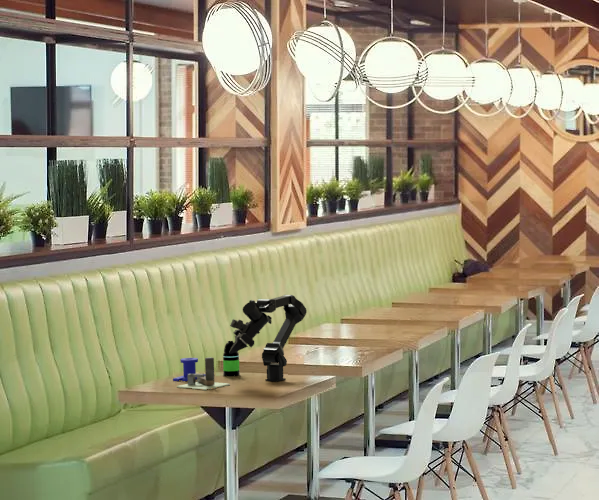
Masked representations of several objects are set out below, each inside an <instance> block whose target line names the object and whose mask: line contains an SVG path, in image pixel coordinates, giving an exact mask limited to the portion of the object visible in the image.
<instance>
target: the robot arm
mask: <svg viewBox="0 0 599 500" xmlns="http://www.w3.org/2000/svg"><path fill="white" fill-rule="evenodd" d="M281 307H282V309H283V311H284V315H285V319H284V322H283V323H282V325H281V327H280V328H279V331H278V333H277V334H276V336H275V338H274V340H273V342H267V343H266V344H265V346H264V348H263V349H262V350H263V351H262V353H261V359H262V364H263V367H266V378H265V379H264V380H265V381H268V382H281V381H285V380H287V379H286V378H285V377H284V367H286V366H287V363H288V359H287V358H286V356H285V351H284V347H285V346H286V344H287V342H288V340H289V338H290V336H291V335H292V332H293V330H294V328H295V327H296V325H297V324H298V323H300V322H302V321H303V319H304V318H305V317H306V315H307V308H306V306H305V304H304V303H303V302H302V301H300V300H299V299H297V297H296V296H295V295H293V294H283V295H280V296H278V297H273V298H258V299H256V301H255V300H253V299H251V300H249V302H247V303H246V304H244V306H243V307H242V313H243V314H244V315H245V316H246V317H247V318H248V319H249V321H247V322H245V323H244V320H241V319H238V320H237V319H235V318H233V319H232V320H231V323H230V328H233V329H235V330H234V331H233V335H234V341H233V342H234V344H233V346H232V348H231V350H230V351H229V353H230V354H233V353H235V352H237V351H238V352H239V351H240V350H243V349H246V348H249V347H250V348H252V347H253V346H254V345H255V340H254V338H255V337H256V336H257V334H258V335H259V334H260V333H261V330H262V329H263V328H264V327H265V326H266V325H267V324H270V325H271V324H272V323H273V322H272V317H271V315H267V313H268V314H272V313H273V312H275V311H276V309H279V308H281Z"/></svg>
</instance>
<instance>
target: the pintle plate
mask: <svg viewBox="0 0 599 500" xmlns="http://www.w3.org/2000/svg"><path fill="white" fill-rule="evenodd" d="M230 385H231V384H230V383H225V382H216V381H214V385H205V384H203V383H201V382H197V381H195V385H188V383H185V384H179V385H176V388H179V389H186V388H192V389H191V390H195V389H203V390H202V391H207V390H206V389H210V390H212V389H211V388H214V389H217V388H216V387H219V388H223V386H224V387H228V386H230Z"/></svg>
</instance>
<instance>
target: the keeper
mask: <svg viewBox="0 0 599 500" xmlns="http://www.w3.org/2000/svg"><path fill="white" fill-rule="evenodd" d="M204 374H205V373H196V374H188V375H187V376H188V382H187V384H188V385H195V382H196V380H195V377H203V376H204Z"/></svg>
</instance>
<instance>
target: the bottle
mask: <svg viewBox="0 0 599 500" xmlns="http://www.w3.org/2000/svg"><path fill="white" fill-rule="evenodd" d="M234 342H235V341H234V340H227V342H226V343H225V345H224V348H223V353H222V366H223V367H222V371H223V374H222V375H223V376H224V377H238V376H240V375H241V374H240V356H239V354H240V353H239V351H237V352H235V353H233V354H230V353H229V351H230V350H231V348H232V346H233V344H234Z"/></svg>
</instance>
